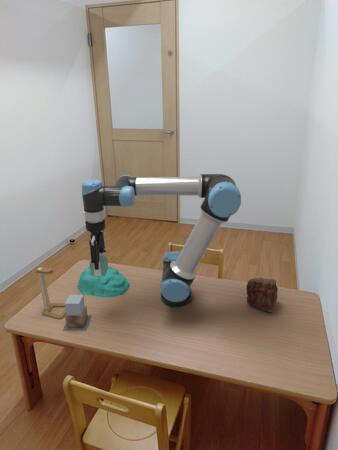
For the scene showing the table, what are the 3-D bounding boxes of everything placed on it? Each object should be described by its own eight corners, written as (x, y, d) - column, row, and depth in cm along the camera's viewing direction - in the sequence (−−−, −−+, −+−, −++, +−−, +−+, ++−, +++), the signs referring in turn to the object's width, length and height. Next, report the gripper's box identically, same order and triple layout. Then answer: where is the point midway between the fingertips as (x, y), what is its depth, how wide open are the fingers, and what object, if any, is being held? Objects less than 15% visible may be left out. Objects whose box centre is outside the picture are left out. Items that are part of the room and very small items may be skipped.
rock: (244, 313, 147) (246, 284, 141) (245, 297, 157) (247, 270, 151) (277, 317, 144) (281, 288, 138) (276, 301, 154) (279, 273, 148)
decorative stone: (91, 271, 183) (89, 255, 179) (136, 281, 173) (135, 264, 169) (67, 292, 165) (65, 274, 161) (116, 303, 156) (114, 285, 152)
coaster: (92, 316, 147) (92, 315, 147) (86, 331, 138) (86, 330, 138) (69, 315, 148) (69, 315, 148) (62, 331, 139) (62, 330, 138)
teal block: (108, 268, 142) (107, 255, 140) (105, 275, 137) (104, 263, 134) (94, 267, 142) (93, 255, 140) (90, 275, 137) (89, 262, 135)
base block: (88, 317, 146) (86, 305, 144) (83, 328, 139) (82, 316, 137) (72, 317, 146) (70, 305, 144) (67, 328, 140) (65, 316, 137)
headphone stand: (62, 320, 145) (54, 277, 136) (39, 317, 147) (29, 274, 138) (73, 305, 154) (66, 264, 146) (51, 303, 157) (43, 262, 148)
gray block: (84, 306, 143) (83, 294, 141) (81, 315, 138) (79, 303, 135) (71, 306, 143) (69, 295, 141) (66, 315, 138) (64, 303, 135)
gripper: (91, 210, 139) (96, 259, 148) (78, 229, 122) (84, 283, 131) (109, 211, 139) (113, 259, 148) (98, 229, 121) (103, 283, 131)
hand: (100, 270), depth 139 cm, fingers closed on teal block, 6 cm apart
